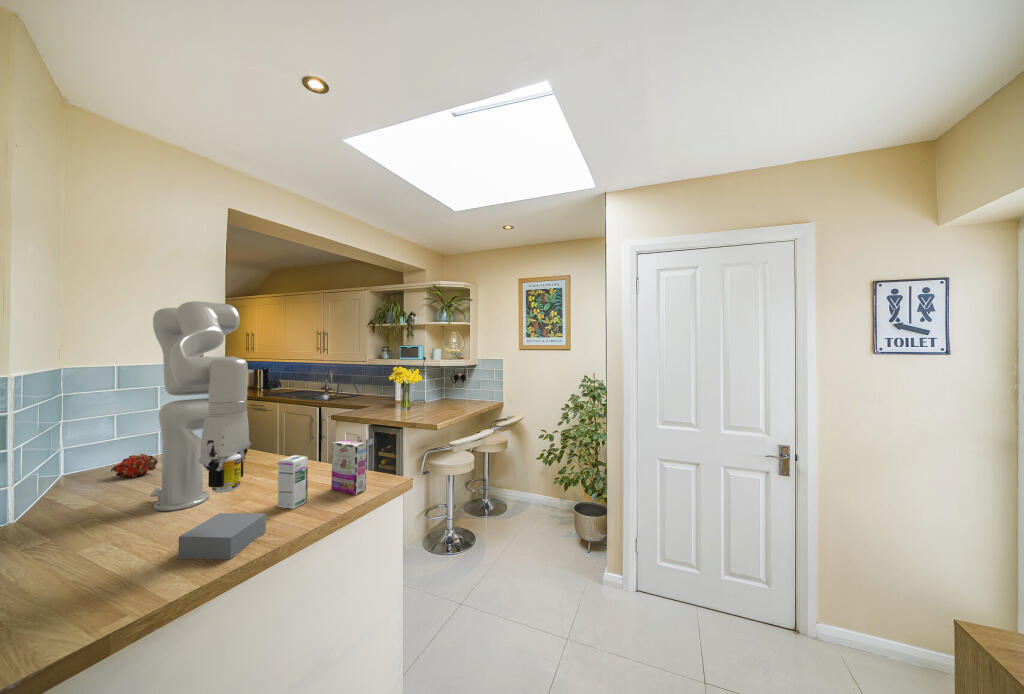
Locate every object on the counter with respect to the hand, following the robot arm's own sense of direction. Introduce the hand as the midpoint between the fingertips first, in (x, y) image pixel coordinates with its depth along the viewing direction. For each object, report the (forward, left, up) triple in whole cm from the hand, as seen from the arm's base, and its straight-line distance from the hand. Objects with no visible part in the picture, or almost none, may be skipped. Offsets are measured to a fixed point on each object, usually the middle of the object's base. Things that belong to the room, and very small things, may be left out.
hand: (226, 481), depth 90 cm
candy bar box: (+15, +35, -16) cm, 41 cm away
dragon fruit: (-67, +44, -16) cm, 82 cm away
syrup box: (+3, +23, -16) cm, 28 cm away
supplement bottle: (0, 0, -2) cm, 2 cm away
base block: (0, 0, -16) cm, 16 cm away
